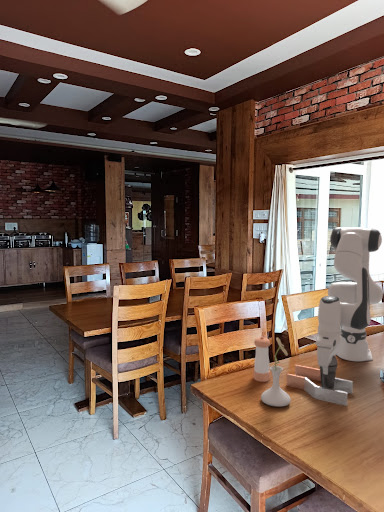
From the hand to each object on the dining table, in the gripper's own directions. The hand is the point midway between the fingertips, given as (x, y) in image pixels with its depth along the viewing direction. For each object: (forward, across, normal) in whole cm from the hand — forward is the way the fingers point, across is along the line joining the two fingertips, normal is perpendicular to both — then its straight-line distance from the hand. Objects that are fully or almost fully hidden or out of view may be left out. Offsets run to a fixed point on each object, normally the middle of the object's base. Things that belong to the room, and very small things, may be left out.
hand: (328, 370), depth 154 cm
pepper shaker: (+10, -1, -29) cm, 30 cm away
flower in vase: (+10, +17, -16) cm, 25 cm away
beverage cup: (+9, 0, 0) cm, 9 cm away
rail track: (+10, -3, -5) cm, 11 cm away
